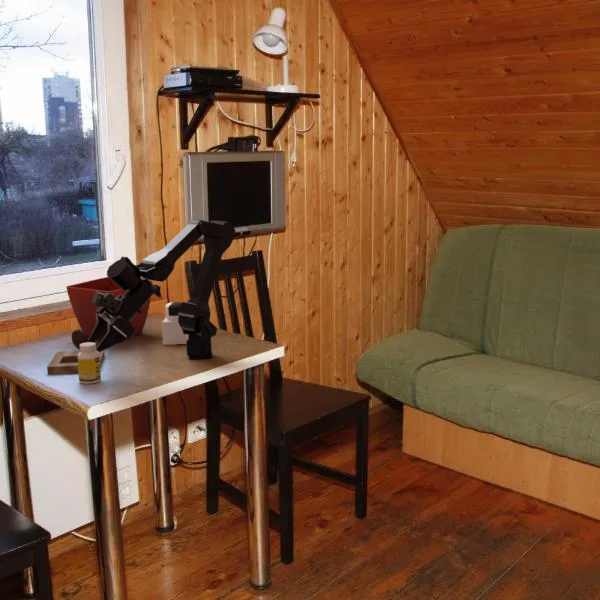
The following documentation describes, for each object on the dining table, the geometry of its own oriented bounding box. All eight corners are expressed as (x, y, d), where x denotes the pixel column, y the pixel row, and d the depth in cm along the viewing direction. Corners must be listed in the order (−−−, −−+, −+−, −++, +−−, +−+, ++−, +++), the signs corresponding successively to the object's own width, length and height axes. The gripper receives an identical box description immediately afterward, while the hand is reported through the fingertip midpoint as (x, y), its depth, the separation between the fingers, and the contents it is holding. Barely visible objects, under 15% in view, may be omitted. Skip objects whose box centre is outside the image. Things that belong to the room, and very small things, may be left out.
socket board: (104, 356, 220) (104, 349, 219) (98, 371, 205) (97, 364, 205) (57, 358, 218) (57, 351, 218) (47, 374, 204) (47, 366, 203)
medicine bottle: (190, 338, 237) (189, 300, 235) (186, 344, 230) (184, 305, 228) (167, 338, 238) (165, 300, 235) (162, 345, 231) (160, 305, 228)
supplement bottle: (100, 383, 195) (97, 346, 193) (78, 385, 194) (75, 347, 192) (102, 377, 200) (99, 340, 198) (80, 378, 200) (77, 342, 198)
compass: (106, 349, 228) (104, 325, 226) (86, 355, 221) (84, 331, 219) (87, 345, 232) (85, 322, 230) (66, 352, 225) (64, 327, 223)
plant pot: (68, 339, 239) (64, 285, 236) (113, 326, 255) (110, 275, 252) (113, 347, 229) (109, 291, 226) (157, 332, 245) (154, 280, 242)
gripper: (101, 274, 203) (61, 320, 200) (120, 285, 187) (76, 335, 184) (132, 300, 208) (94, 345, 206) (153, 313, 192) (111, 362, 189)
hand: (93, 346), depth 196 cm, fingers open, 9 cm apart
